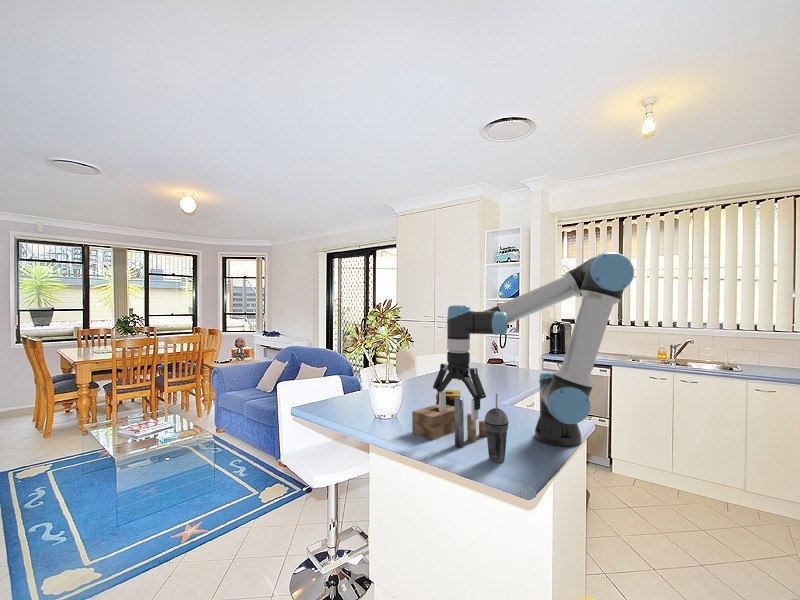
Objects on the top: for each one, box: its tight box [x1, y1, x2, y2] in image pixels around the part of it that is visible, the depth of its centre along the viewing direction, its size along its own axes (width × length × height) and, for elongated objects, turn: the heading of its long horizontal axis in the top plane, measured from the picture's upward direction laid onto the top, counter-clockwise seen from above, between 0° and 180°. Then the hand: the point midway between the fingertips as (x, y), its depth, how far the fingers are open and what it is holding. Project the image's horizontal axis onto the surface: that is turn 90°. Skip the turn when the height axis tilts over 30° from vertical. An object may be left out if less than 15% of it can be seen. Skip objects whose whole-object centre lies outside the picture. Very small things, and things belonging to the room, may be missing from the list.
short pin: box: [478, 420, 487, 438], centre depth 139 cm, size 3×3×5 cm
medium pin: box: [466, 413, 477, 443], centre depth 134 cm, size 3×3×9 cm
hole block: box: [411, 404, 455, 441], centre depth 144 cm, size 10×16×8 cm, turn 134°
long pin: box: [454, 396, 465, 449], centre depth 130 cm, size 3×3×16 cm
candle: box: [435, 389, 461, 406], centre depth 163 cm, size 10×10×10 cm
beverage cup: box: [483, 393, 510, 464], centre depth 118 cm, size 7×7×20 cm
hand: (457, 414), depth 130 cm, fingers open, 13 cm apart
